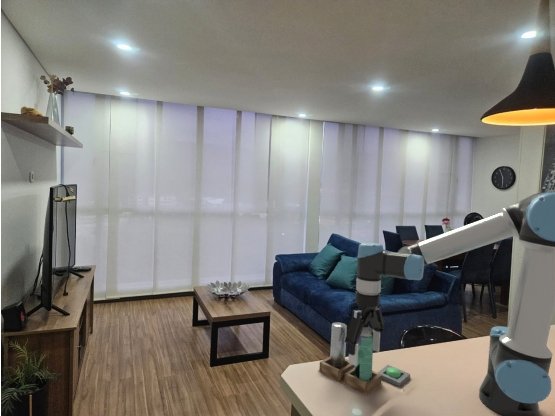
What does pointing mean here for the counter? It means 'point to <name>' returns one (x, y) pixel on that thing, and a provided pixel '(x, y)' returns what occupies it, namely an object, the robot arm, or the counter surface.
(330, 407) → the counter surface
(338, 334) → the seated billet
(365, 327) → the spray can
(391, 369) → the button
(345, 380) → the wooden double crate
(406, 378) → the gray square frame
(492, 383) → the robot arm
